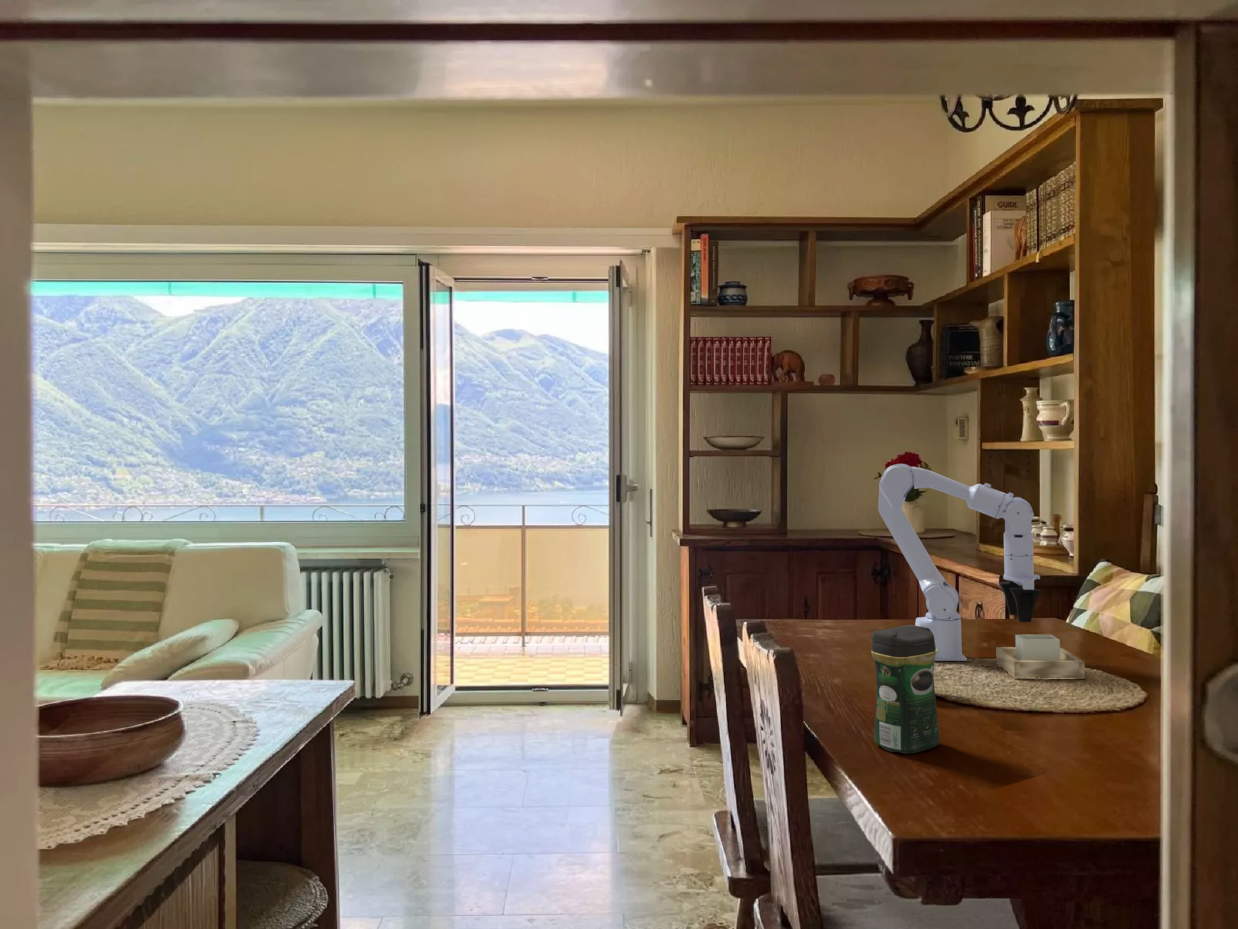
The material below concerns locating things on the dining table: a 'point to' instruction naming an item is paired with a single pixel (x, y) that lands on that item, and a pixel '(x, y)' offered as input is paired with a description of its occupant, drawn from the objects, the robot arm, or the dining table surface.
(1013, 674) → the wooden tray
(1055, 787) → the dining table surface
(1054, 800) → the dining table surface
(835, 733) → the dining table surface
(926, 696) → the coffee jar
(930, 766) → the dining table surface
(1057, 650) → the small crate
